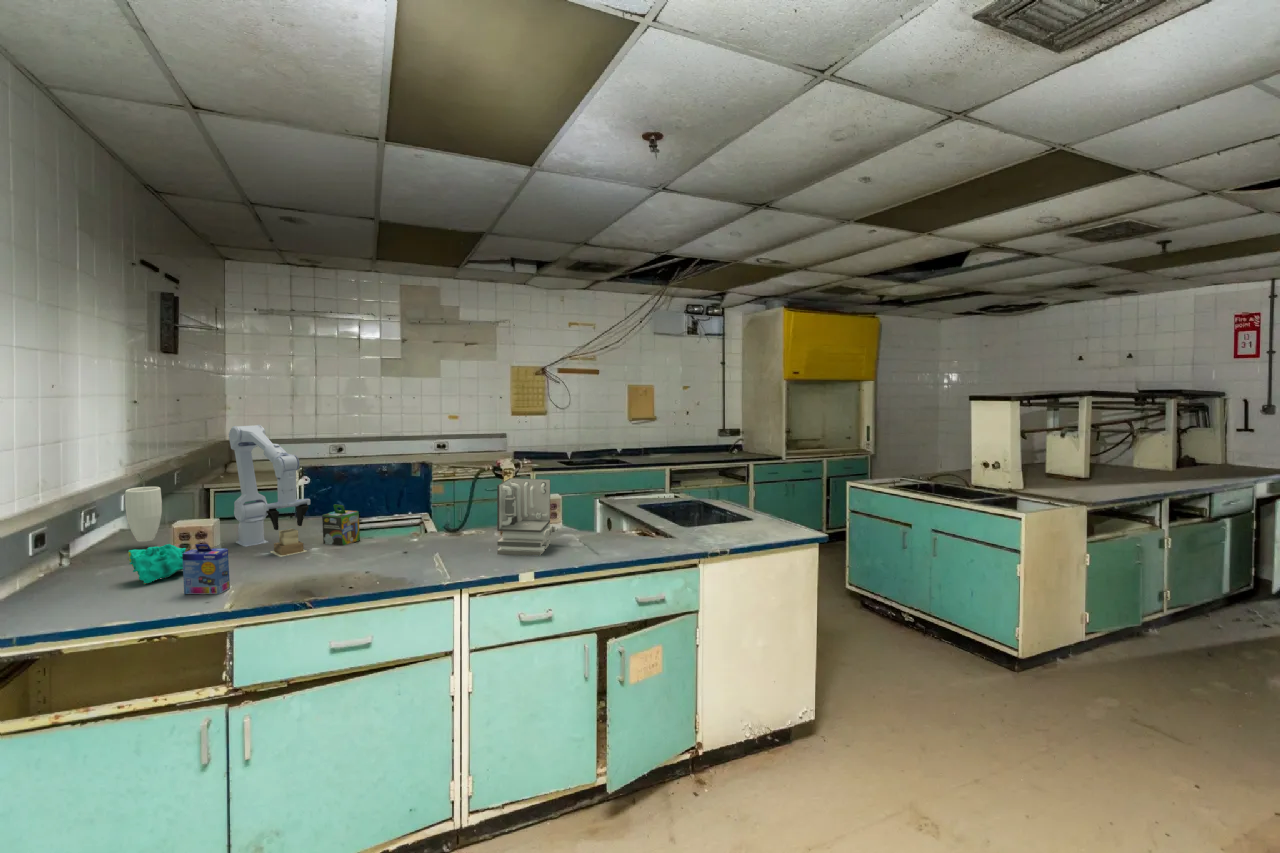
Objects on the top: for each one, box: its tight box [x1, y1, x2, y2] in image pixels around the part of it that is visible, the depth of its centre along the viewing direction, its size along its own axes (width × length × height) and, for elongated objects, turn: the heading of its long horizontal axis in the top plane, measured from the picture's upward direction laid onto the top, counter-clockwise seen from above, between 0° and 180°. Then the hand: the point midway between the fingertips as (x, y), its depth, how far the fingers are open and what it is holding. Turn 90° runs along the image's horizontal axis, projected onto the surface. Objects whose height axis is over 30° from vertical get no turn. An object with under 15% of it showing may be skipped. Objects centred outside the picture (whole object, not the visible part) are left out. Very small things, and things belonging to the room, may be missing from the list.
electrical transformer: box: [496, 477, 558, 557], centre depth 221 cm, size 16×19×25 cm
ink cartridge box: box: [182, 543, 231, 595], centre depth 172 cm, size 10×6×14 cm, turn 95°
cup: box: [124, 486, 163, 543], centre depth 214 cm, size 10×10×22 cm
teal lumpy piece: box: [127, 543, 187, 584], centre depth 183 cm, size 15×12×13 cm
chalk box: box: [321, 504, 361, 546], centre depth 225 cm, size 9×9×15 cm
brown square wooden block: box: [273, 540, 305, 556], centre depth 212 cm, size 7×7×3 cm
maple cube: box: [278, 528, 299, 546], centre depth 212 cm, size 4×4×4 cm
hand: (288, 527), depth 211 cm, fingers open, 7 cm apart
